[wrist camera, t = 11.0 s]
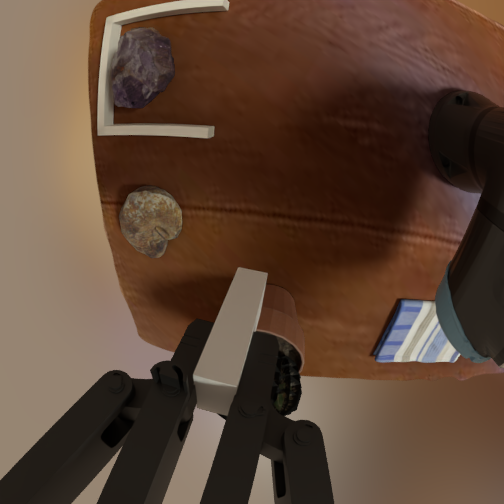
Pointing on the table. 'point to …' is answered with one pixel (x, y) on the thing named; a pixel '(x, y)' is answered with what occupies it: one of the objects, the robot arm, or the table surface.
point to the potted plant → (283, 347)
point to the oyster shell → (150, 220)
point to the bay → (191, 3)
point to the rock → (141, 67)
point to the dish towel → (415, 335)
